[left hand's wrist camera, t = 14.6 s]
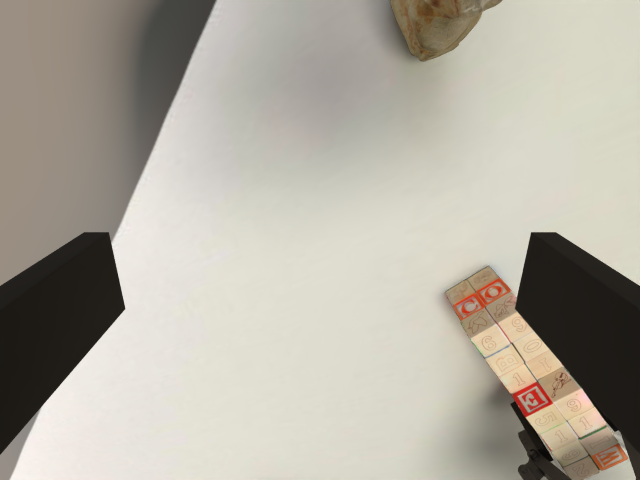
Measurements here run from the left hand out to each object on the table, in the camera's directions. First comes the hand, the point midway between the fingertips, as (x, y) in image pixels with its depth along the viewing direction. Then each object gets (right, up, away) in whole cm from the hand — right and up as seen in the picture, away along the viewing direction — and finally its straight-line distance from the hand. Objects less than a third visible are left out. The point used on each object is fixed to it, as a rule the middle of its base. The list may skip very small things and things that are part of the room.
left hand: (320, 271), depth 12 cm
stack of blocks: (+24, -11, +38) cm, 46 cm away
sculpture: (+9, +22, +24) cm, 34 cm away
